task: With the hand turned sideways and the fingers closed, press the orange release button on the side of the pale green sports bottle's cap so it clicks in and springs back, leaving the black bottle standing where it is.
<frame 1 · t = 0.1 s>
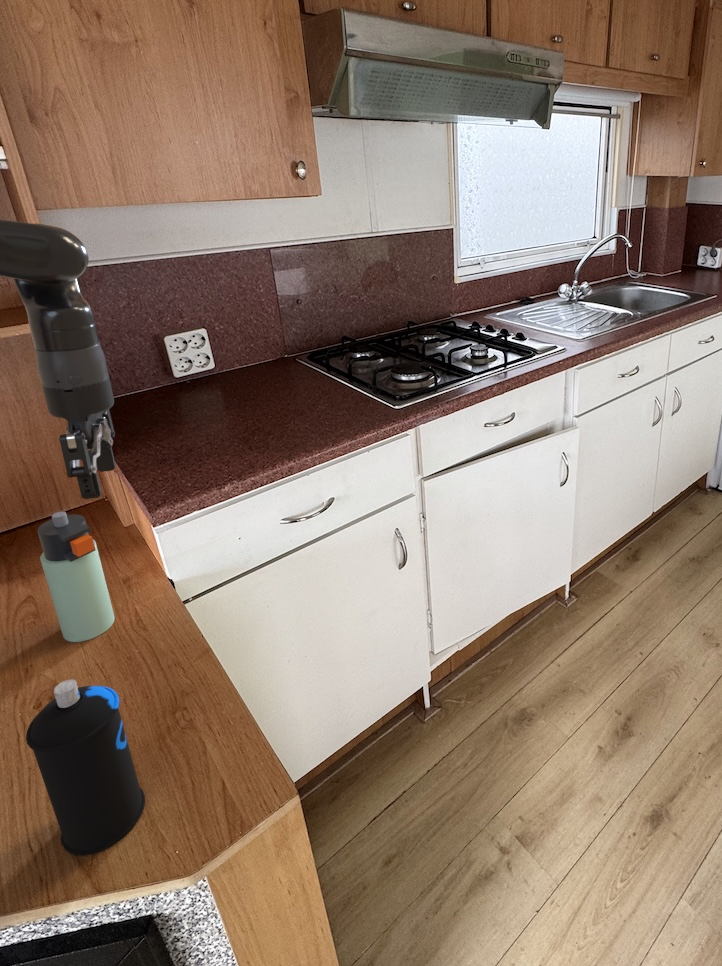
hand: (100, 483, 84), 29 cm above the counter, tool pointing down, fingers open, 8 cm apart
nozzle button: (82, 545, 88), point 18 cm above the counter, slide at 0.1 cm
black bottle: (105, 819, 68), on the counter
sports bottle: (89, 626, 97), on the counter
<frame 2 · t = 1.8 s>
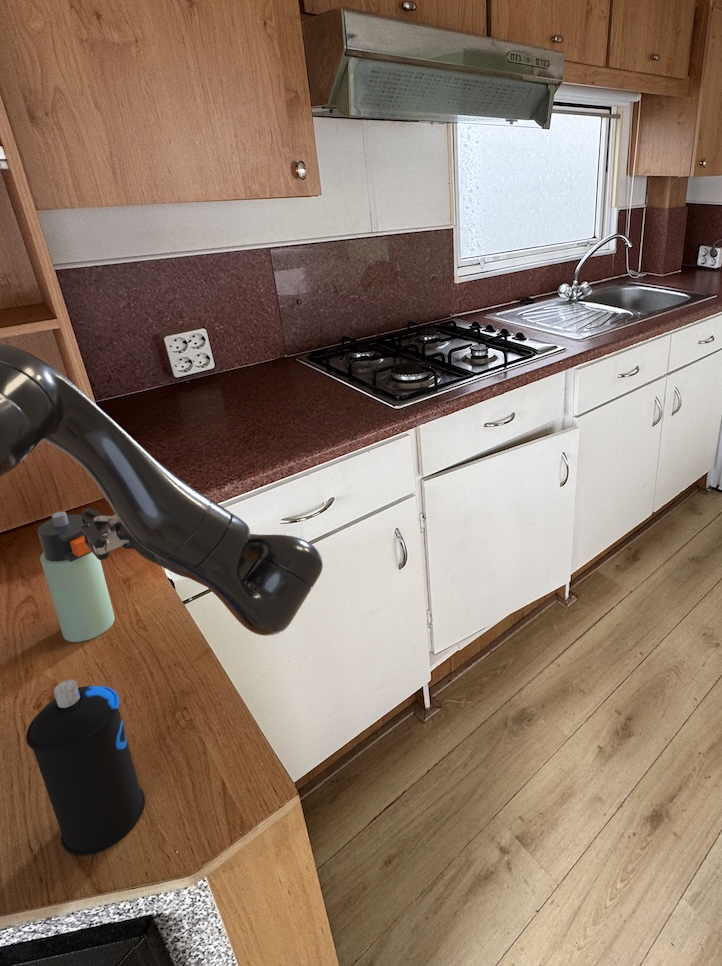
hand: (109, 505, 80), 28 cm above the counter, tool horizontal, fingers open, 5 cm apart
nothing on the counter moved.
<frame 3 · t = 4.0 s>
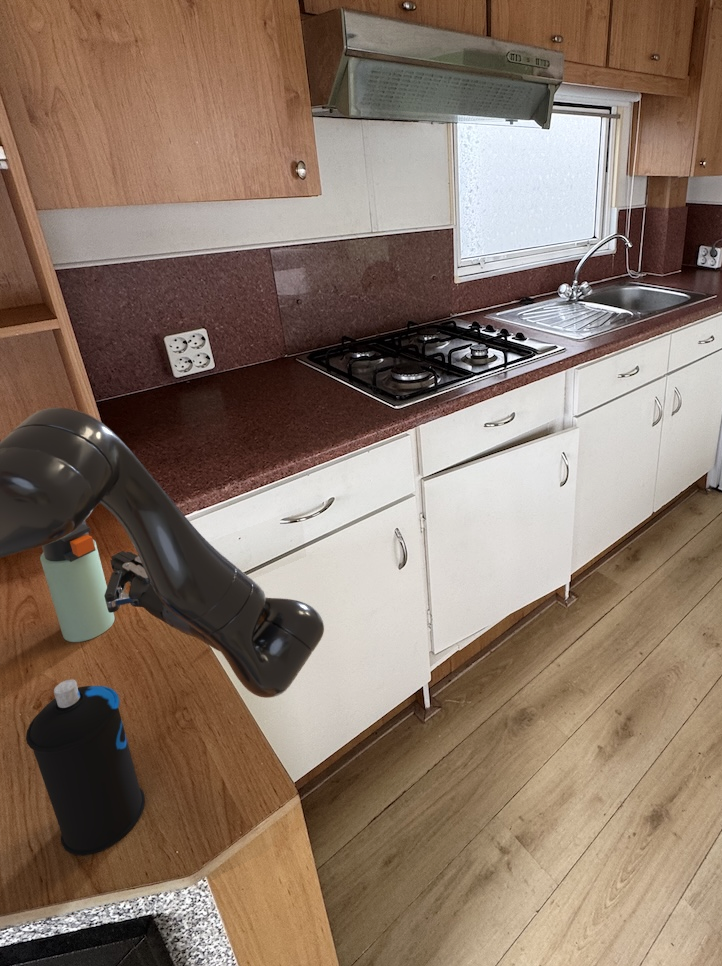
hand: (117, 559, 83), 19 cm above the counter, tool horizontal, fingers closed
nothing on the counter moved.
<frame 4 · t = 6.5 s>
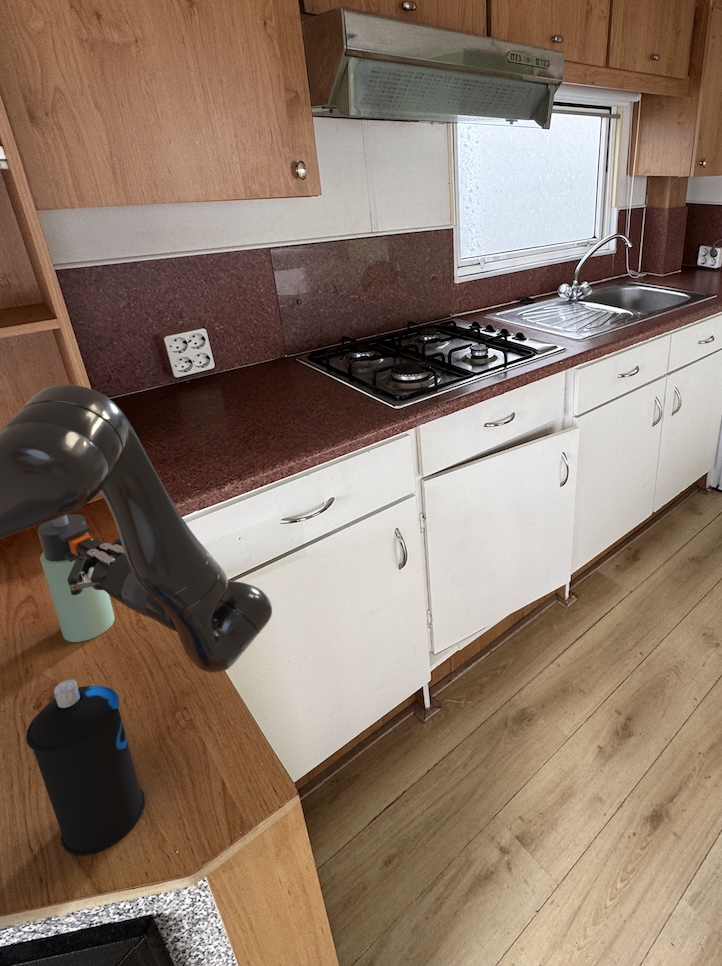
hand: (83, 546, 88), 18 cm above the counter, tool horizontal, fingers closed
nozzle button: (81, 544, 88), point 18 cm above the counter, slide at -0.3 cm, touching gripper
everything else where it was.
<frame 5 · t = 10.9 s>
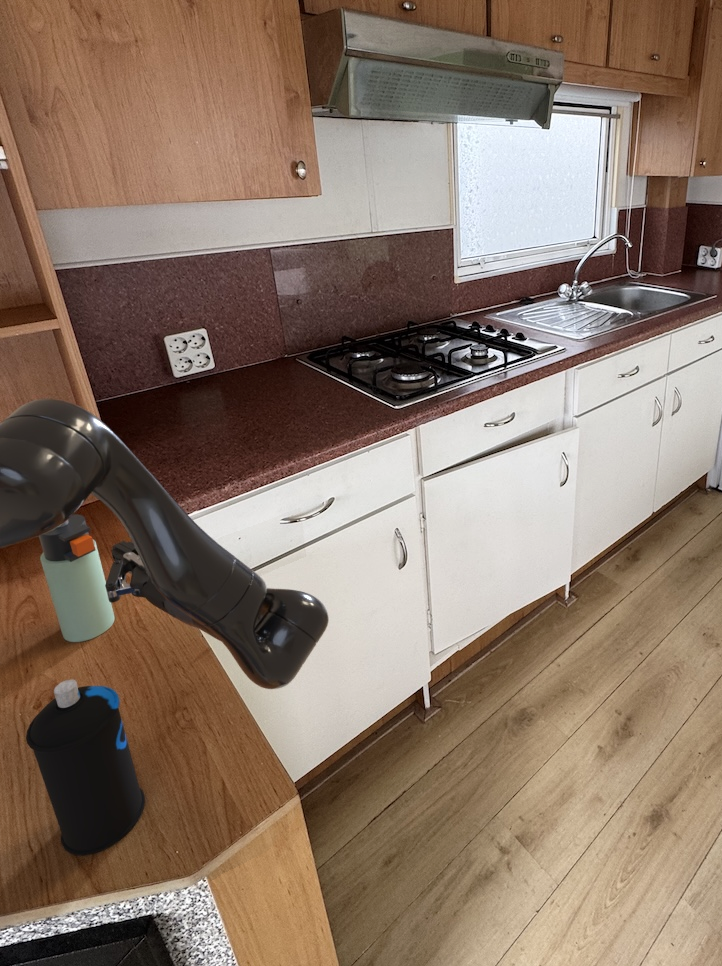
hand: (118, 549, 82), 21 cm above the counter, tool horizontal, fingers closed
nozzle button: (82, 545, 88), point 18 cm above the counter, slide at 0.1 cm
everything else where it was.
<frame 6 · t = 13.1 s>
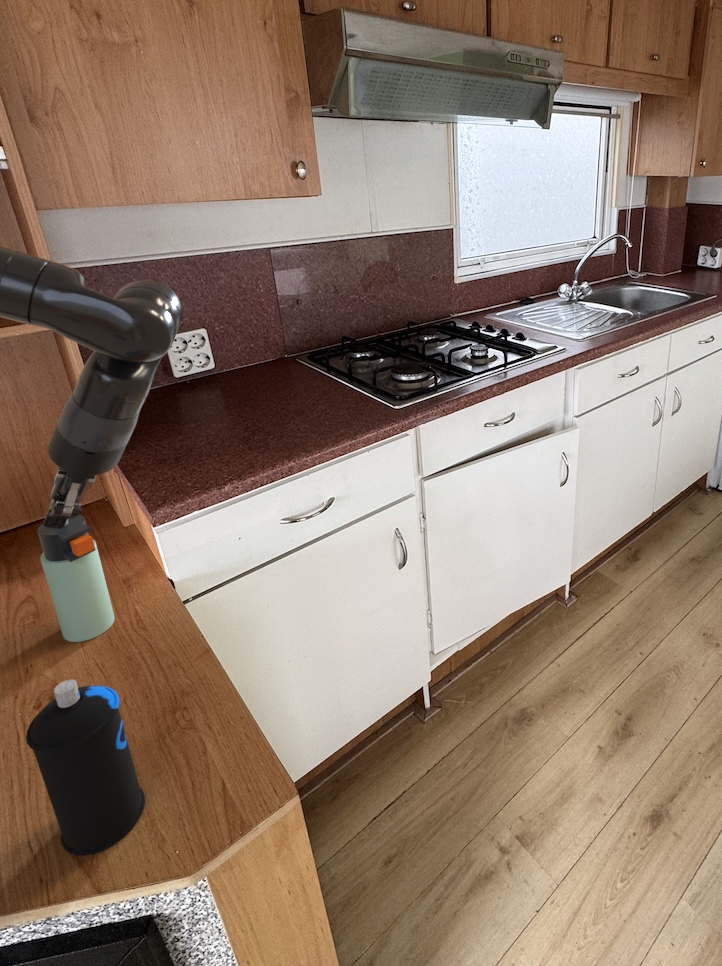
hand: (53, 523, 76), 27 cm above the counter, tool tilted 35°, fingers closed
nothing on the counter moved.
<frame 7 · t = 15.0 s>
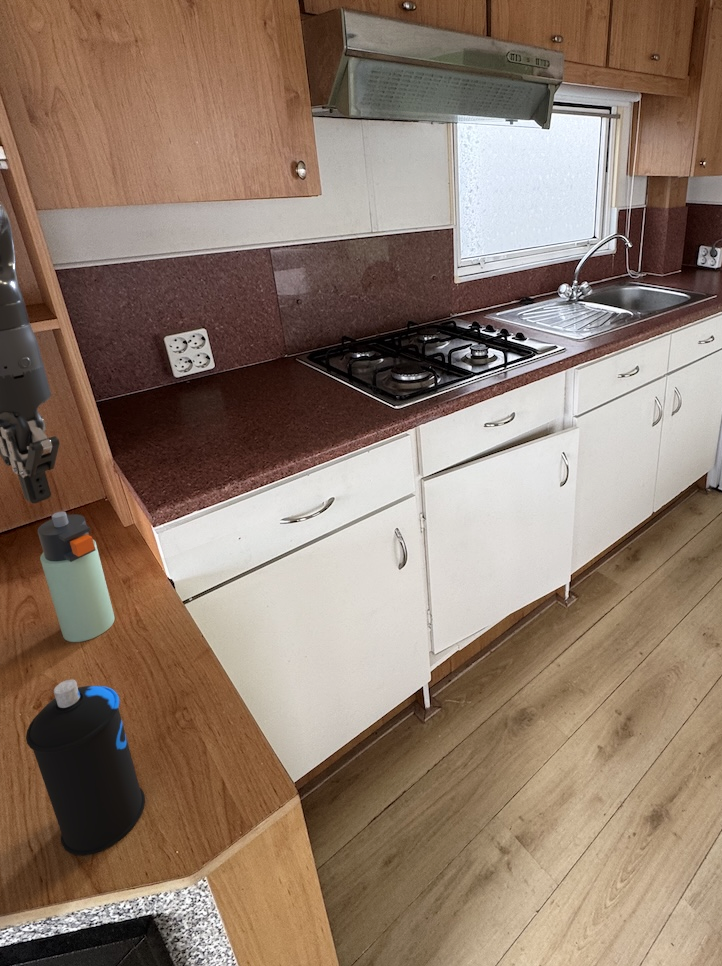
hand: (39, 499, 71), 33 cm above the counter, tool pointing down, fingers closed
nothing on the counter moved.
at the end: nozzle button pushed in 1.0 cm at the most during the clip, back to where it started at the end; nozzle button slide at 0.1 cm; black bottle moved 0.2 cm from its start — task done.
